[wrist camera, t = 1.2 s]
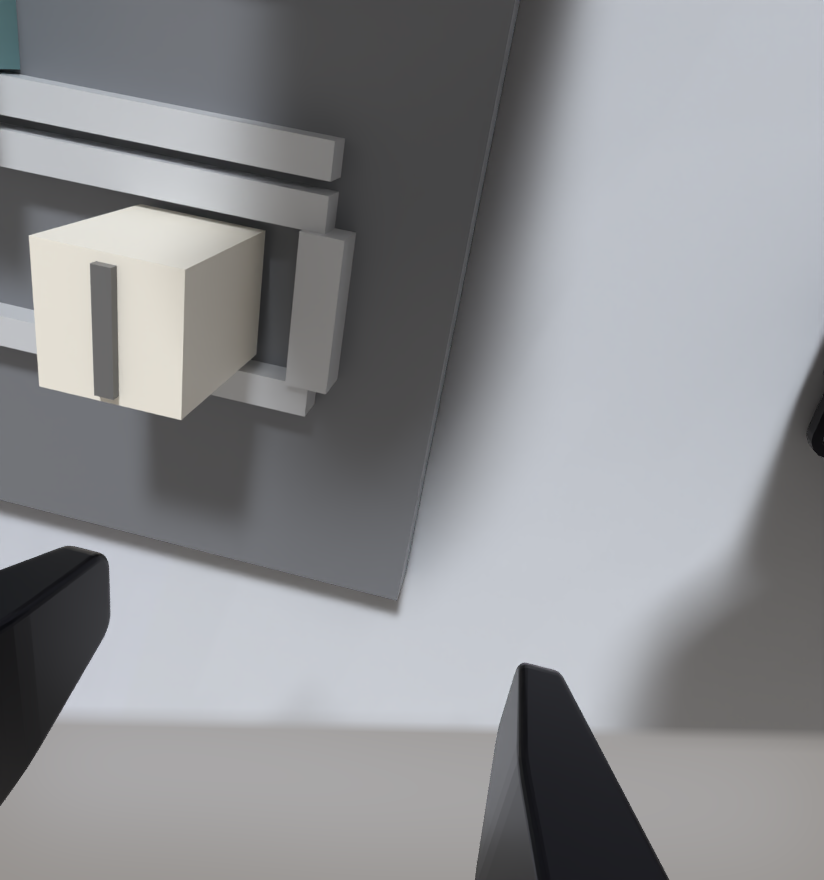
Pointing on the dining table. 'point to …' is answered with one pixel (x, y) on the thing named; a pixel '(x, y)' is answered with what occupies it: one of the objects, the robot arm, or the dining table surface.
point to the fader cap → (145, 306)
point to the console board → (284, 264)
